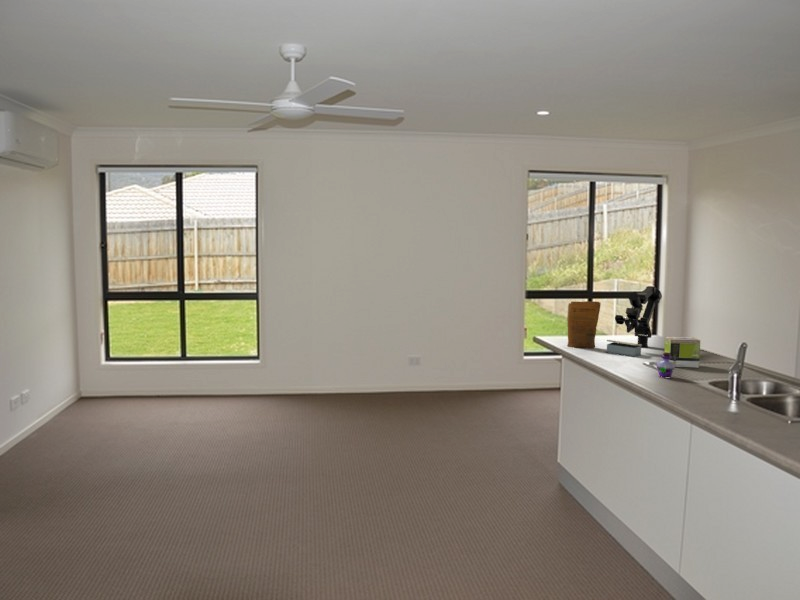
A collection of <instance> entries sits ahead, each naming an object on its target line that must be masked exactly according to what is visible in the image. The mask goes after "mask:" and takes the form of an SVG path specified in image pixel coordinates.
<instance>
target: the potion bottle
mask: <svg viewBox="0 0 800 600" xmlns="http://www.w3.org/2000/svg"><path fill="white" fill-rule="evenodd" d="M661 359H662V360H660V361H656V369H657V370H658V376H659V375H660V376H662V377H671V378H672V375H673V372H674V370H675V368H676V367H675V363H672V362H669V359H671V355H670V353H667V352H664V351H663V352H662V354H661Z"/></svg>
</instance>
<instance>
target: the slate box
mask: <svg viewBox="0 0 800 600" xmlns="http://www.w3.org/2000/svg"><path fill="white" fill-rule="evenodd" d="M610 353H613V354H612V355H617V354H619V355H618V356H624V355H625V356H624V357H631V358H636V357H638V356H640V355H641V353H642V347H641V346H638V345H631V344H624V343H616V342H609V343H607V344H606V354H610Z"/></svg>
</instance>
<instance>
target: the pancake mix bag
mask: <svg viewBox="0 0 800 600" xmlns="http://www.w3.org/2000/svg"><path fill="white" fill-rule="evenodd" d="M600 312H601V302H600V301H590V300H589V301H570V302H568V306H567V317H566V320H567V325H566V326H567V345H566V346H567V347H568V348H573V347H574V348H579V349H580V348H581V349H595V348H596V343H595V341H596V340H595V339H596V335H597V327H598V324H599V323H598V322H599V318H600V317H599V316H600ZM594 347H595V348H594Z"/></svg>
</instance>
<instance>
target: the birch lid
mask: <svg viewBox="0 0 800 600" xmlns="http://www.w3.org/2000/svg"><path fill="white" fill-rule="evenodd" d="M606 342H609V343H613V342H616V343H623V344H631V345H639V346H642V344H638V343H635V342H634V343H633V342H626V341H625V342H624V341H618V340H612V339H606Z"/></svg>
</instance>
